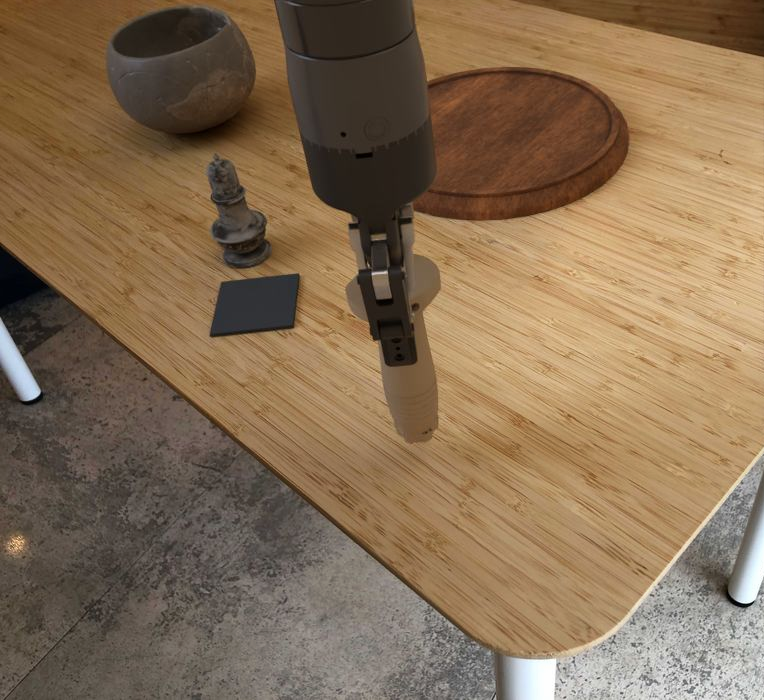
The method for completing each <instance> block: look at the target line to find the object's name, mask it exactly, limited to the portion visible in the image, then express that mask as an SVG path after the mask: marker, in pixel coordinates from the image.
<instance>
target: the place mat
mask: <svg viewBox="0 0 764 700" xmlns="http://www.w3.org/2000/svg"><path fill="white" fill-rule="evenodd" d="M300 278H301V275H300V273H299V272H297V273H296V272H295V273H287V274H279V275H270V276H268V275H267V276H260V277H252V278H241V279H234V280H224V281H220V282H221V283H220V286H219V288H218V289H219V290H218V295H217V299H216V303H215V308H214V311H213V317H212V320H211V321H212V322H211V326H210V330H209V337H210V338H213V337H223V336H224V337H225V336H232V335H241V334H242V335H243V334H250V333H259V332H269V331H276V330H277V331H278V330H286V329H287V330H288V329H294V328H295V320H296V312H297V303H298V295H299V286H300Z"/></svg>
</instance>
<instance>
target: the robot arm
mask: <svg viewBox="0 0 764 700" xmlns="http://www.w3.org/2000/svg"><path fill="white" fill-rule="evenodd" d="M273 2H274V7H275V12H276V15H277V20H278V24H279V29H280V34H281V37H282V42H283V49H284V53H285V65H286V76H287V83H288V89H289V93H290V99H291V102H292V107H293V112H294V116H295V119H296V124H297V128H298V129H297V130H298V133H299V136H300V142H301V146H302V150H303V154H304V157H305V158H304V159H305V163H306V168H307V172H308V176H309V180H310V184H311V189H312V191H313V193H314V195H315V196H316V197H317V198H318V199H319V200H320V201H321V202H322V203H323V204H325V205H326V206H328V207H330V208H332V209H335V210H337V211H340V212H345V213H346V214H349V215H350V217H351V221H348V222H347V231H348V232H347V233H348V237H349V244H350V245H349V246H350V249H351V250H352V251H353V252H354V253H355V259H356V264H357V271H358V273H357V274H358V276H357V284H358V285H360V289H361V293H362V297H363V301H364V306H365V310H366V314H367V318H368V322H367V323H368V325H369V335H370V337H372V341H373V342H378V341H379V340H380V341H381V346H382V351H383V356H384V362H385V364H386V365H387V366H389V367H397V366H407V365H413V364H415V363H416V362H417V360H418V357H417V347H416V341H415V334H414V331H415V329H414V323H413V320H415V314H414V312H412V306H411V298H410V292H411V291H413V290H414V289H415V286H416V273H415V265H414V257H413V254H414V250H413V249H414V248H413V245H414V244H415V240H416V232H415V224H414V218H415V210H414V209H413V201H415V200H416V199H418V198H419V197H421V196H422V195H423V194H424V193H425V192H426V191H427V190H428V189H429V188H430V187H431V185H432V184H433V182H434V180H435V177H436V173H437V164H436V156H435V147H434V138H433V129H432V120H431V111H430V102H429V94H428V85H427V81H428V77H427V68H426V62H425V58H424V53H423V49H422V46H421V42H420V38H419V34H418V28H417V23H416V21H417V20H416V13H415V4H414V0H273ZM404 259H405V267H406V272H405V271H402V267H404ZM369 266H370V267H371V268H372V269H371V268H369V269H368V267H369Z"/></svg>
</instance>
